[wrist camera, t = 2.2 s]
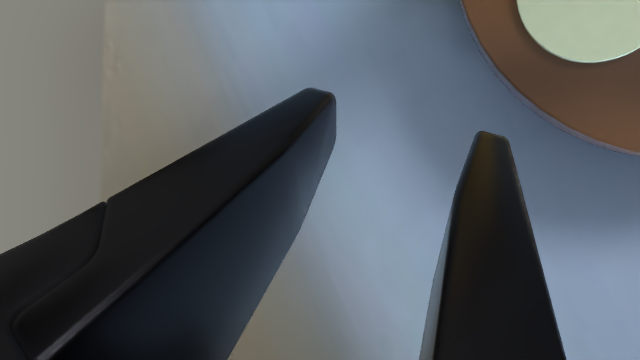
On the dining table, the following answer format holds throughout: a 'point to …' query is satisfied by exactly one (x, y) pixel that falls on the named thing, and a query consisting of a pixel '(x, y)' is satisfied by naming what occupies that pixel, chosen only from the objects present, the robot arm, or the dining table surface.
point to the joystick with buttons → (567, 62)
